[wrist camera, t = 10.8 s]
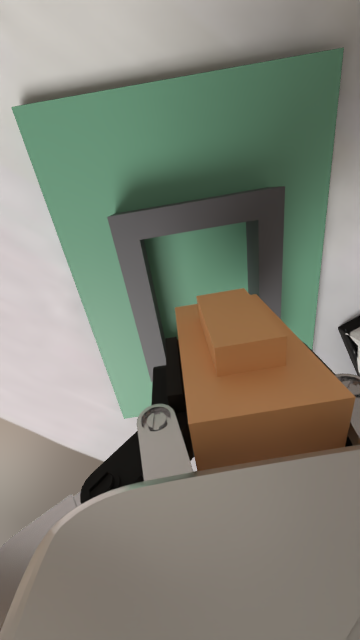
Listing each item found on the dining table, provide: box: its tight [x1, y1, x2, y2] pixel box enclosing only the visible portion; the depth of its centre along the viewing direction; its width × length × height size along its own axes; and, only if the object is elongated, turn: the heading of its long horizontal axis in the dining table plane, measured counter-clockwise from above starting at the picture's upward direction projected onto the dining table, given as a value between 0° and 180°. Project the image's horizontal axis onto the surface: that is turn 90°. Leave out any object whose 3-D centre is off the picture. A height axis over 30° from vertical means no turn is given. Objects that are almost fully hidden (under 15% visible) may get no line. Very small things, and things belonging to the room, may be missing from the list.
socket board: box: [12, 48, 344, 419], centre depth 18 cm, size 24×18×4 cm
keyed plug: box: [175, 288, 356, 471], centre depth 10 cm, size 6×4×7 cm, turn 9°
